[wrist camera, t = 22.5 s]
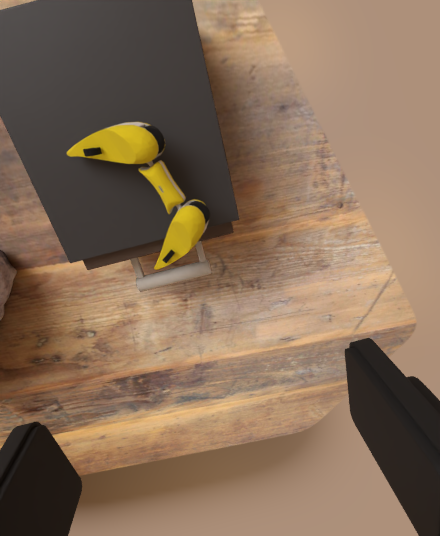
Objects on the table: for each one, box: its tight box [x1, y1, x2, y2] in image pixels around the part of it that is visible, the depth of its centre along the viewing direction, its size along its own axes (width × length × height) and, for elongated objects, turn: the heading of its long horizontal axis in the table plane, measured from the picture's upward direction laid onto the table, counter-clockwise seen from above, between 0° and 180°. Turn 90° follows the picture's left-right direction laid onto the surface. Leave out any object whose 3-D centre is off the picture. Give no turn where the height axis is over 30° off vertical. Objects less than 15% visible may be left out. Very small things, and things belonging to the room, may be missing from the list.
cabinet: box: [0, 0, 239, 263], centre depth 25 cm, size 16×14×9 cm
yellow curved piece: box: [67, 122, 210, 270], centre depth 21 cm, size 10×6×4 cm, turn 31°
